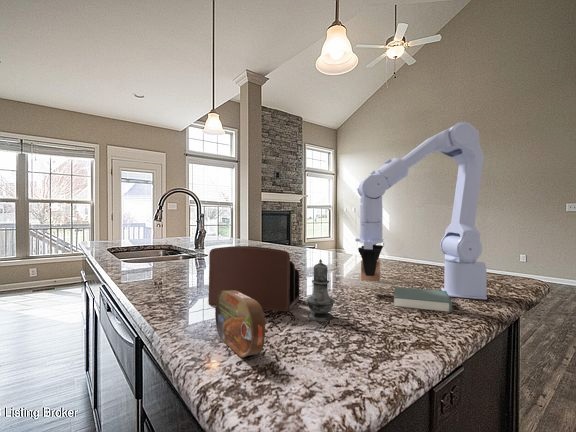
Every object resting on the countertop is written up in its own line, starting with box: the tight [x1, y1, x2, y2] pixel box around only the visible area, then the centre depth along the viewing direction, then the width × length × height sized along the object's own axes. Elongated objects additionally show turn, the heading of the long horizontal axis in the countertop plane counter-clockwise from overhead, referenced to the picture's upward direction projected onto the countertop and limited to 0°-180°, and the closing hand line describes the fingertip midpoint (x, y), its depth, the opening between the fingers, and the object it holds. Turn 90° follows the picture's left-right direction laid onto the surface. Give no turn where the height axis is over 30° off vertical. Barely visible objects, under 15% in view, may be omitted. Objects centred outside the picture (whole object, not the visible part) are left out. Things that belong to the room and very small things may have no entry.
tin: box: [214, 290, 267, 358], centre depth 51 cm, size 15×3×8 cm, turn 32°
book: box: [393, 286, 453, 313], centre depth 74 cm, size 12×10×2 cm
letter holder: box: [207, 245, 300, 313], centre depth 75 cm, size 10×20×14 cm, turn 74°
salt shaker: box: [305, 259, 335, 323], centre depth 64 cm, size 6×6×12 cm
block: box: [360, 259, 381, 283], centre depth 82 cm, size 4×4×5 cm
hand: (370, 273), depth 82 cm, fingers closed on block, 4 cm apart
